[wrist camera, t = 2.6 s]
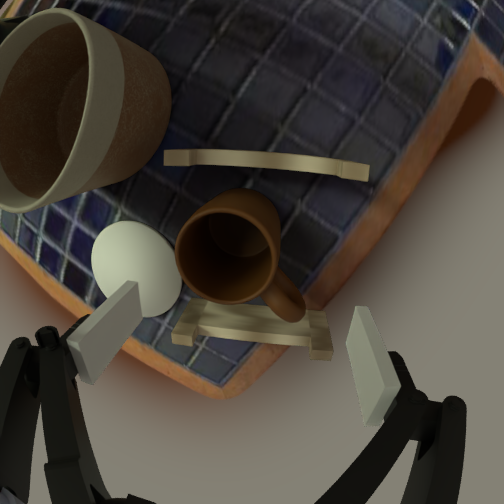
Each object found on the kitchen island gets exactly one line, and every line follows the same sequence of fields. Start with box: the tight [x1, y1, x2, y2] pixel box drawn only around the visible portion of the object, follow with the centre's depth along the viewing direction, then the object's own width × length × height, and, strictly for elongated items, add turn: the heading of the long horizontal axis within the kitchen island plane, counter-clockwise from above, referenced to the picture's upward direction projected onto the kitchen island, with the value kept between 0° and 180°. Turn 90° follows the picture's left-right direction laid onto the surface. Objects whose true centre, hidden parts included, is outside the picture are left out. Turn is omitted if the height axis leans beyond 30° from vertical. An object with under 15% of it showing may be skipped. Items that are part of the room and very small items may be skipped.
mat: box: [92, 220, 182, 317], centre depth 32 cm, size 12×12×1 cm
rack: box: [164, 149, 370, 361], centre depth 26 cm, size 15×17×7 cm
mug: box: [175, 188, 306, 323], centre depth 25 cm, size 12×8×9 cm, turn 46°
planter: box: [0, 8, 172, 213], centre depth 19 cm, size 16×16×14 cm
